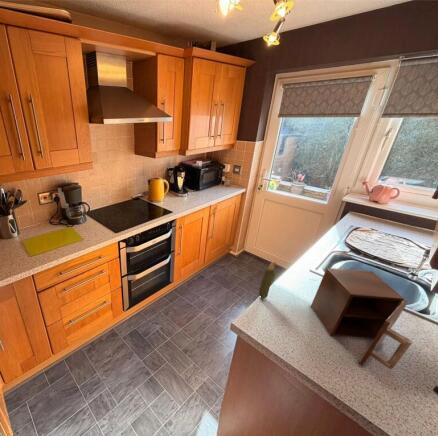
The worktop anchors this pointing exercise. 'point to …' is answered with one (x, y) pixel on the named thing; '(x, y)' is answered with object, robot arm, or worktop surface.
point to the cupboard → (354, 303)
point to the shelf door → (396, 336)
